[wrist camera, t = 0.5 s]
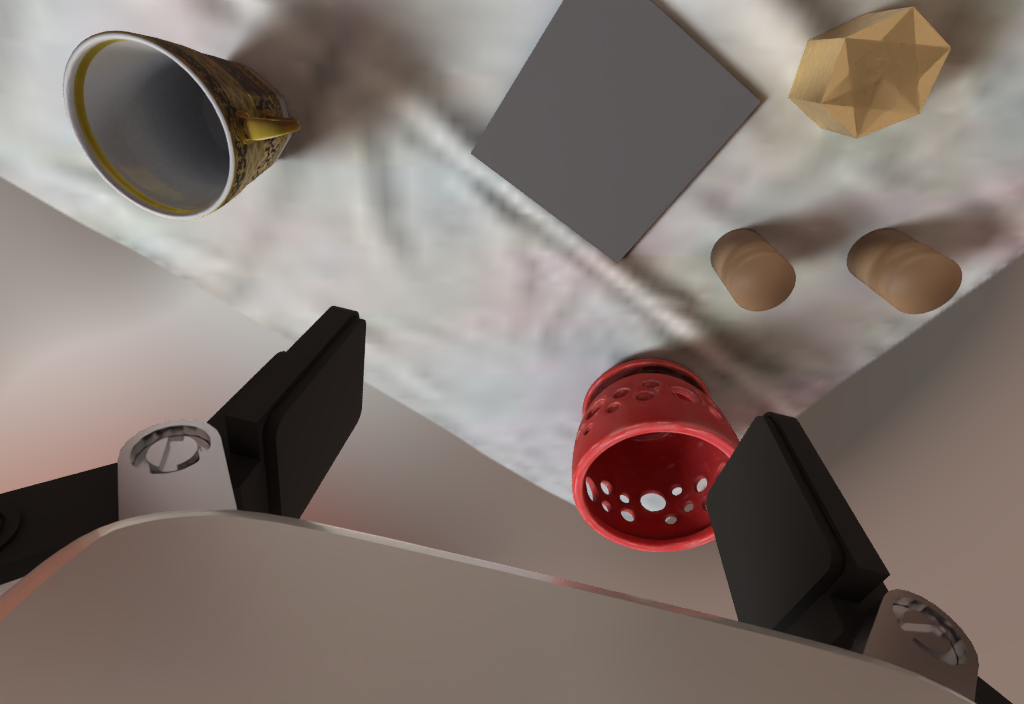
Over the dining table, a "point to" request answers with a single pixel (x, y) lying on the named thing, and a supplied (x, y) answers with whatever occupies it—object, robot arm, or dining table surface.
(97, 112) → the ceramic cup
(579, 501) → the plant pot
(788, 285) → the cylinder
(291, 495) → the robot arm
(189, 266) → the dining table surface
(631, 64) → the mat
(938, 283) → the cylinder
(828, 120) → the tan faceted block
